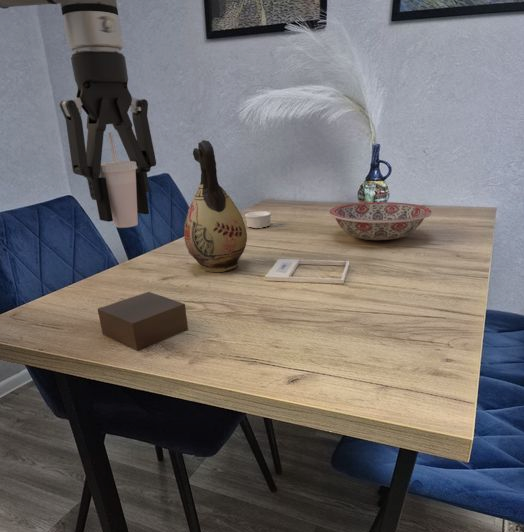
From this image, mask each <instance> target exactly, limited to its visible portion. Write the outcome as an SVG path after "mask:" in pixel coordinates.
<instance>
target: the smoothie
mask: <svg viewBox="0 0 524 532" xmlns="http://www.w3.org/2000/svg"><path fill="white" fill-rule="evenodd" d="M108 138H109V145H110V150H111V155H112V160H113V161H112V160H111V161H106V162H101V169H100V177H101V178H105V179H106V184H107V190H108V195H109V201H110V206H111V212H112V218H113V221H112V222H113V224H114V226H115V228H118V229H124V228H125V229H126V228H132V227H136V226H138V225H139V222H138V221H139V218H138V213H137V192H136V169H137V165H136V162H135V161H130V160H118V159H117V158H118V157H117V154H116V147H115V142H114V141H115V140H114V135H113V132H108Z"/></svg>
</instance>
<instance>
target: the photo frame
mask: <svg viewBox="0 0 524 532" xmlns="http://www.w3.org/2000/svg"><path fill="white" fill-rule="evenodd" d="M350 262H351V261H349V260H328V259H327V260H321V259H294V258H293V259H291V258H290V259H289V258H288V259H287V258H278V260H276V262H275V263H274V265H273V266H272V267H271V268H270V270H268V272H267V273H266V274H265V275H264V281H267V282H268V281H269V282H270V281H271V282H291V283H293V282H294V283H318V284H338V285H339V284H341V285H343V284H345V280H346V277H347V274H348V271H349V268H350ZM299 265H317V266H319V265H320V266H321V265H323V266H344V268H343V271H342V274H341V277H340V278H335V277H334V278H332V277H310V276H309V277H308V276H293V274H294V273H295V271H296V269H297V267H298V266H299Z"/></svg>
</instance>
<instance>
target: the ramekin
mask: <svg viewBox="0 0 524 532" xmlns="http://www.w3.org/2000/svg"><path fill="white" fill-rule="evenodd" d="M271 216H272V213H271V211H264V210H263V211H250V212H247V213H245V214H244V217H245V222H246V226H248V227H254V228H259V227H266V226H269V225H270V226H271ZM270 226H269V227H270ZM248 227H247V228H248ZM266 228H267V227H266Z"/></svg>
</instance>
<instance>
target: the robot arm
mask: <svg viewBox="0 0 524 532" xmlns="http://www.w3.org/2000/svg"><path fill="white" fill-rule="evenodd" d="M58 4H60V7H61V8H60V10H61V15H62V19H63V24H64V30H65V35H66V41H67V47H68V49H69V50H70V51H72V52H73V54H71V56H70V62H71V67H72V72H73V78H74V81H75V83H76V87H77V91H76V96H75V97H74V98H72V99H68V100H61V101H60V102H59V107H60V110H61V113H62V115H63V117H64V120H65V125H66V132H67V138H68V139H67V140H68V146H69V155H70V161H71V169H72V172H73V174H75V175H78V176H82V177H84V178H85V179H86V181H87V185H88V190H89V196H90V197H91V200H93V201H95V202H96V208H97V212H98V217H99V221H102V222H108V223H110V222H114V221H113V218H112V212H111V206H110V201H109V195H108V190H107V184H106V179H105V178H101V177H100V169H101V163H102V157H103V147H104V134H105V131H106V129H107V125H112V127H113V128H114V129H115V131H117V134H118V136H119V138H120V140H121V143H122V145H123V147H124V151H125V152H126V155H127V157H128V159H129V161H135V162H136V165H137V169H136V192H137V214H139V215H149V214H150V210H149V203H148V196H147V193H149V191H150V185H149V179H148V173H150V172H151V170H152V168H153V167H156V165H157V160H156V159H157V158H156V154H155V150H154V149H155V148H154V144H153V139H152V134H151V129H150V123H149V118H148V110H149V102H148V100H147V99H145V98H141V99H138V98H136V97H133V96H132V93H131V92H130V90H129V88H128V87H129V86H128V81H129V76H128V68H127V61H126V56H125V55H124V54H123V53H121V51H122V50H123V48H124V42H123V36H122V30H121V23H120V15H119V10H118V4H117V0H0V9H4V10H5V9H9V8H13V7H24V6H25V7H26V6H27V7H28V6H41V5H43V6H44V5H58ZM83 111H84V112H85V114H86V117H87V118H86V129H87V137H86V139H87V140H86V141H85V134H84V125H83V119H82V116H81V115H82V112H83ZM128 111H130V112H131V117H132V120H131V117H130V116H129V113H128ZM133 128H134V130H133Z"/></svg>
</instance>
